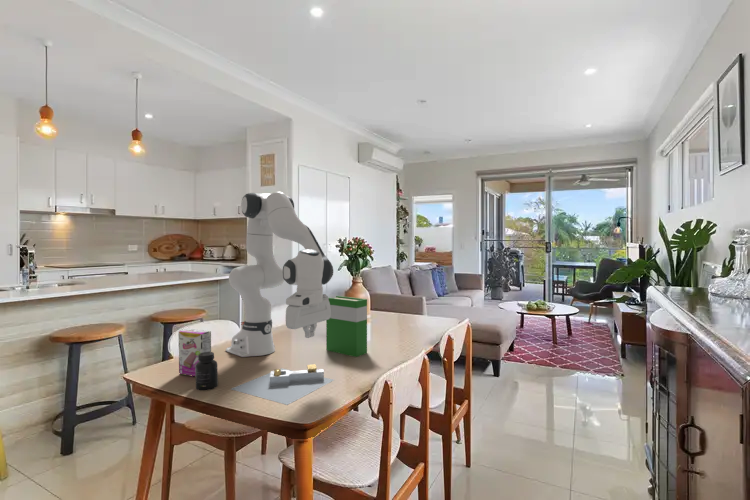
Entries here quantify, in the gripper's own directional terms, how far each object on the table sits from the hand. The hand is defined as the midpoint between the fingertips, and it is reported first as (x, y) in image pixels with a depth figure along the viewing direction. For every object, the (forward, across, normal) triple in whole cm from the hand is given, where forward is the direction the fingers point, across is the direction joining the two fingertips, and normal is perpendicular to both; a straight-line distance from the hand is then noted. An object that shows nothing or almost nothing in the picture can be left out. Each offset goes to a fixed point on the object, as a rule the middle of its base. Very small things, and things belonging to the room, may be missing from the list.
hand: (309, 337), depth 133 cm
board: (+17, +6, -6) cm, 19 cm away
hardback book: (+17, -40, -12) cm, 45 cm away
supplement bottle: (+17, +20, -28) cm, 38 cm away
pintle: (+16, +6, -10) cm, 19 cm away
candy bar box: (+17, +13, -44) cm, 49 cm away
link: (+16, +1, -5) cm, 17 cm away
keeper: (+16, -4, -2) cm, 16 cm away
